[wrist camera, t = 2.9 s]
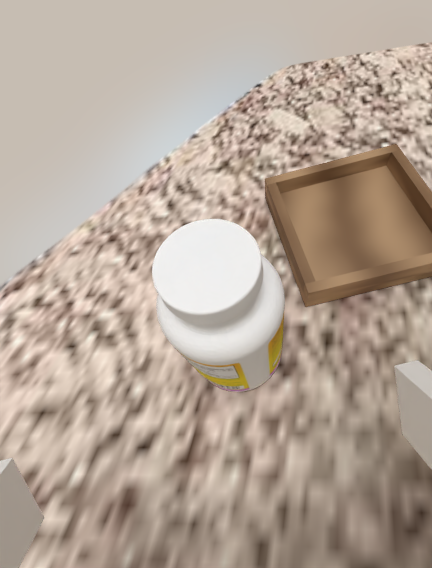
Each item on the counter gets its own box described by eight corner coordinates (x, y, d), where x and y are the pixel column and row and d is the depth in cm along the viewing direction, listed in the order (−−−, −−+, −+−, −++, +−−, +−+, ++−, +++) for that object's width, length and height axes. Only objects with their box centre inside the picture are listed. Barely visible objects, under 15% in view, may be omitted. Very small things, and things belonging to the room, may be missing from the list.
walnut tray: (387, 166, 30) (396, 143, 28) (458, 270, 24) (476, 252, 22) (265, 198, 31) (264, 178, 28) (305, 307, 25) (308, 293, 23)
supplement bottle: (255, 295, 26) (241, 178, 15) (299, 367, 23) (323, 286, 12) (182, 332, 26) (111, 240, 14) (216, 410, 22) (160, 370, 11)
